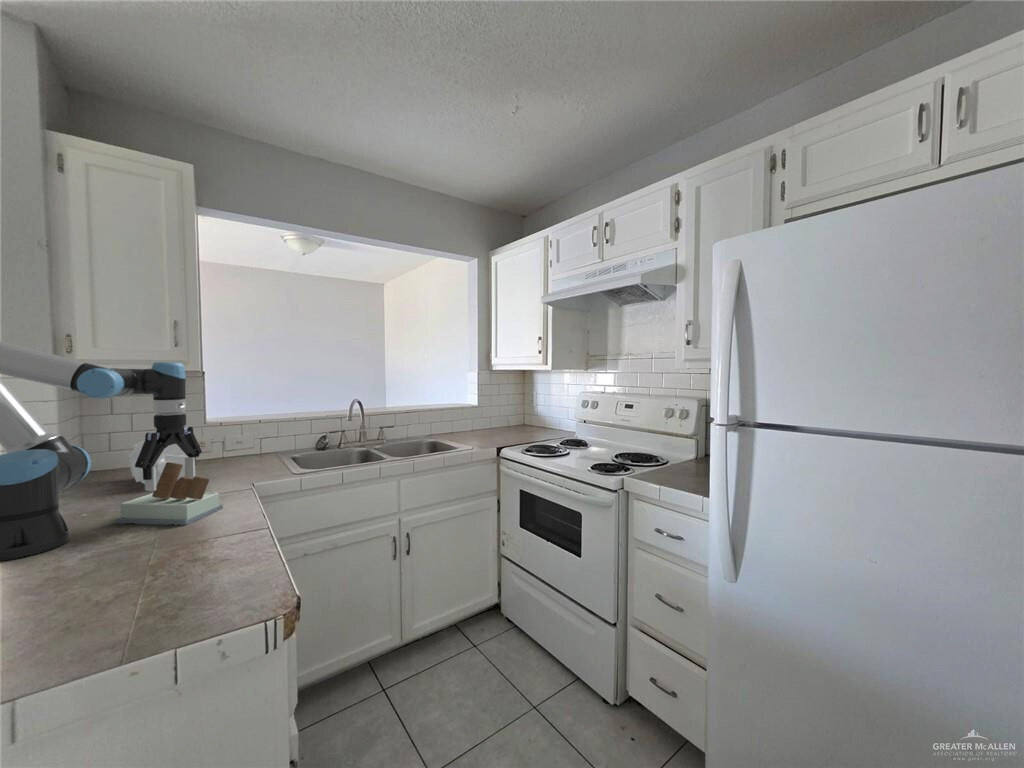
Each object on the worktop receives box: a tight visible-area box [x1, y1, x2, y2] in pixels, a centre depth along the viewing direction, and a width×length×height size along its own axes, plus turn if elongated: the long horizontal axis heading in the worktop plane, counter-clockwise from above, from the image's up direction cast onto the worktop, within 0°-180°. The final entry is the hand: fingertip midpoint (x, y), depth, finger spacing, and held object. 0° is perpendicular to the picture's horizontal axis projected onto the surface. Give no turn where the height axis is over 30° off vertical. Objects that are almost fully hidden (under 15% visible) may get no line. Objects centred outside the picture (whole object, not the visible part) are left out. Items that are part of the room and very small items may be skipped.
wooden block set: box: [152, 462, 210, 500], centre depth 125 cm, size 18×9×10 cm, turn 67°
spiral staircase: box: [127, 439, 188, 486], centre depth 160 cm, size 18×18×25 cm
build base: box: [115, 492, 224, 526], centre depth 124 cm, size 14×21×5 cm, turn 87°
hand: (171, 483), depth 124 cm, fingers open, 13 cm apart
